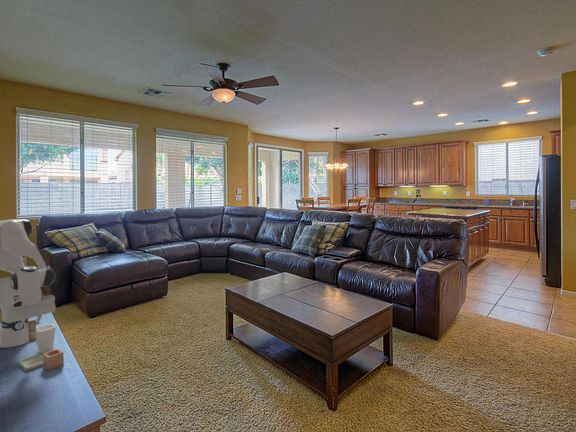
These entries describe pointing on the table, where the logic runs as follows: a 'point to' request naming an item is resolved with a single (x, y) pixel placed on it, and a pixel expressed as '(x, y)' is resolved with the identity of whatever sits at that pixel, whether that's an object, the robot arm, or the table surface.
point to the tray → (31, 362)
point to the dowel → (32, 330)
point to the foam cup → (45, 337)
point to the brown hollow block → (53, 359)
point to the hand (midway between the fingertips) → (31, 325)
